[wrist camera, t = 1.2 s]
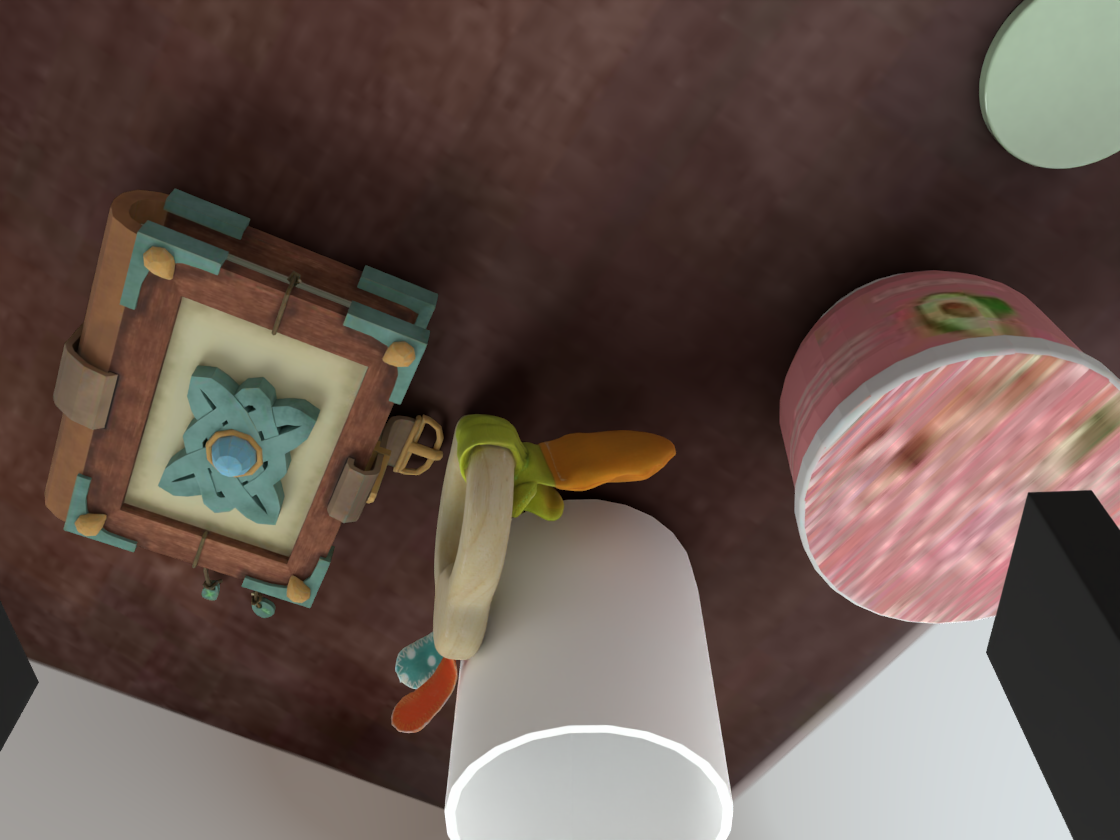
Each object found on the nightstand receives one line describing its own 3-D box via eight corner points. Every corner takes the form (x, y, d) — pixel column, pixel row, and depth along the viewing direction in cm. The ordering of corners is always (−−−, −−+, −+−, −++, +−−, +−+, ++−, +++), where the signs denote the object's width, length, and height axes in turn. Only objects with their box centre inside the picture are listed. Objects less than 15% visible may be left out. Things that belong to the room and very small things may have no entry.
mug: (558, 450, 40) (557, 680, 30) (785, 587, 44) (850, 830, 34) (427, 596, 44) (389, 839, 34) (645, 708, 48) (667, 956, 38)
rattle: (579, 427, 43) (551, 699, 43) (398, 406, 39) (366, 708, 39) (690, 436, 37) (657, 756, 36) (487, 412, 32) (449, 774, 32)
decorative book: (43, 539, 42) (-14, 627, 38) (133, 161, 33) (72, 221, 29) (353, 636, 45) (332, 728, 41) (510, 314, 36) (504, 388, 32)
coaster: (1080, -76, 30) (1089, -73, 29) (1220, 34, 31) (1231, 39, 31) (938, 103, 32) (943, 109, 32) (1073, 195, 34) (1081, 202, 34)
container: (1110, 330, 37) (1232, 461, 30) (904, 520, 42) (969, 669, 35) (896, 174, 34) (980, 282, 27) (699, 399, 38) (728, 538, 32)
